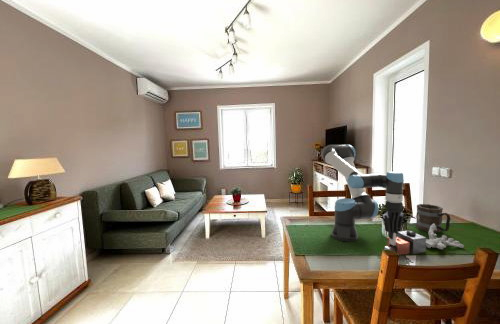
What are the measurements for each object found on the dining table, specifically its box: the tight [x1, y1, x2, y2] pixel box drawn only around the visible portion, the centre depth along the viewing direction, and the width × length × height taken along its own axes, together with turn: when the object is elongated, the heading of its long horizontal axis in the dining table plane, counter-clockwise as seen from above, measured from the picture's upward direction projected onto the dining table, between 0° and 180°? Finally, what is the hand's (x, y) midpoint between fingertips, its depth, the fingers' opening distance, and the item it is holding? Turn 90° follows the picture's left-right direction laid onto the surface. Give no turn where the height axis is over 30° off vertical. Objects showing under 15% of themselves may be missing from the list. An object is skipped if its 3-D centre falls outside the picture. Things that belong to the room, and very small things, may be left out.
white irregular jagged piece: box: [426, 223, 465, 250], centre depth 124 cm, size 19×8×20 cm
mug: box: [415, 203, 451, 233], centre depth 143 cm, size 20×14×15 cm
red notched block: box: [386, 236, 410, 256], centre depth 118 cm, size 6×8×6 cm
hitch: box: [383, 230, 427, 255], centre depth 118 cm, size 20×10×10 cm, turn 102°
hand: (392, 244), depth 117 cm, fingers closed
